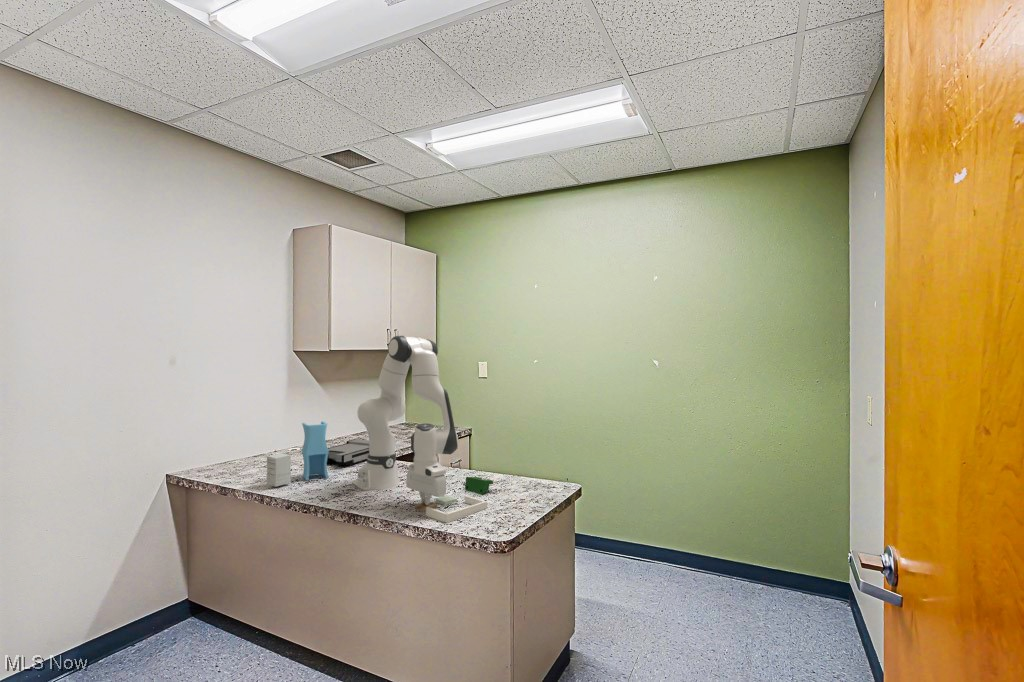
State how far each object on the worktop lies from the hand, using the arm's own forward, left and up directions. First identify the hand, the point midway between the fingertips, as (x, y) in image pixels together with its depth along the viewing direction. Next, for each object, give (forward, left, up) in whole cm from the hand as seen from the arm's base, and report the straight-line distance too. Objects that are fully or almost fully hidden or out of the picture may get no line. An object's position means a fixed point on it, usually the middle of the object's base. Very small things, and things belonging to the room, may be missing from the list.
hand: (425, 503), depth 194 cm
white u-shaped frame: (+12, +5, -2) cm, 13 cm away
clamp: (-2, +28, -3) cm, 28 cm away
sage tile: (0, +10, -2) cm, 10 cm away
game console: (-94, +23, -2) cm, 97 cm away
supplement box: (-76, -23, -2) cm, 79 cm away
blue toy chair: (-76, -6, -2) cm, 76 cm away
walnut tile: (0, 0, -2) cm, 2 cm away
